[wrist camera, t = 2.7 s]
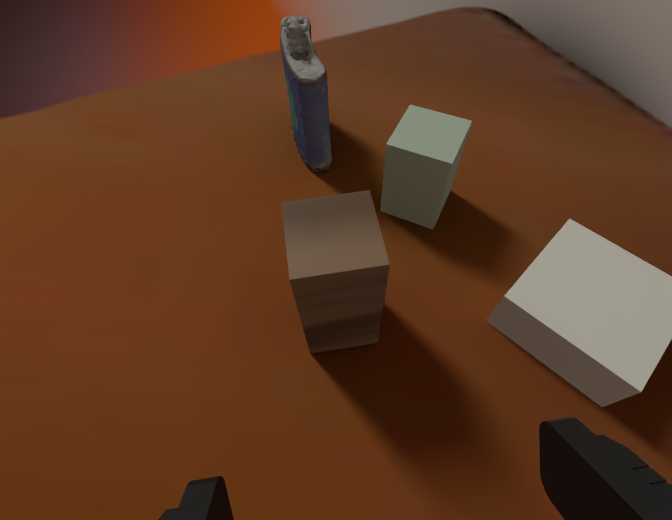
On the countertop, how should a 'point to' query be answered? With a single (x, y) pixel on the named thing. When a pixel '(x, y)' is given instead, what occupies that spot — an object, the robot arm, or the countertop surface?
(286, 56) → the flask
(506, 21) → the countertop surface
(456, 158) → the sage block
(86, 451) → the countertop surface
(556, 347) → the base block
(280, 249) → the countertop surface
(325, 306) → the walnut pillar
